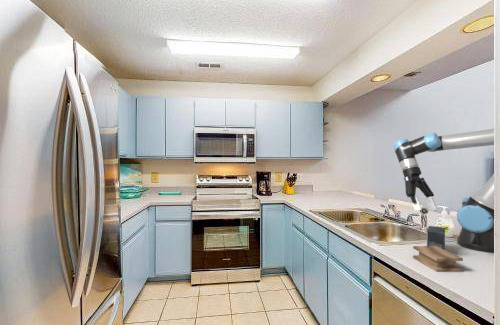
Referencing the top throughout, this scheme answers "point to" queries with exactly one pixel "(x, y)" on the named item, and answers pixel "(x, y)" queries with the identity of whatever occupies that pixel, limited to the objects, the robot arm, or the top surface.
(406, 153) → the robot arm
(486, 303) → the top surface
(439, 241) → the small box
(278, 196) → the top surface
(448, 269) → the stand
